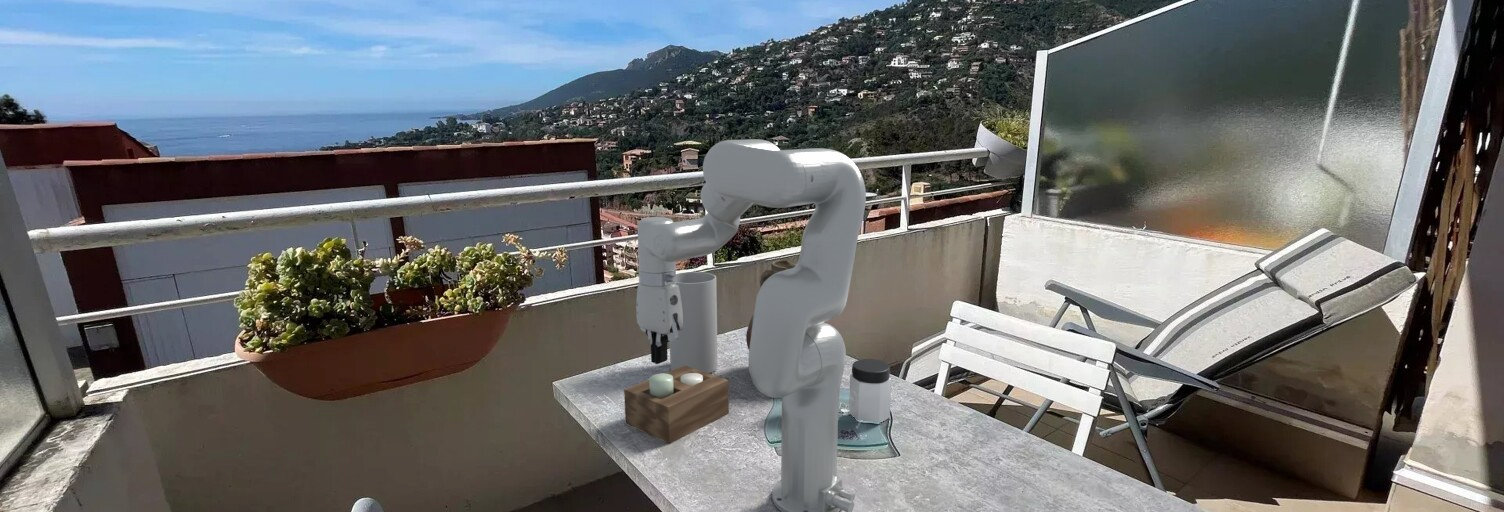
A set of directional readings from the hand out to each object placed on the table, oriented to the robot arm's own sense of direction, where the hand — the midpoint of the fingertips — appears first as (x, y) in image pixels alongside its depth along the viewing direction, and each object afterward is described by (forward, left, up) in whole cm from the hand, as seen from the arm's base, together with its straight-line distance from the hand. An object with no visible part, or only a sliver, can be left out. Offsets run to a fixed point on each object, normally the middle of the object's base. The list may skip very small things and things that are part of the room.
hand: (659, 361), depth 135 cm
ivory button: (0, -9, -10) cm, 14 cm away
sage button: (0, 0, -8) cm, 8 cm away
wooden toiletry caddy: (0, -4, -15) cm, 15 cm away
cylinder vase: (+18, -27, -15) cm, 36 cm away
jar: (-32, -32, -15) cm, 48 cm away
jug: (-4, -39, -15) cm, 42 cm away
